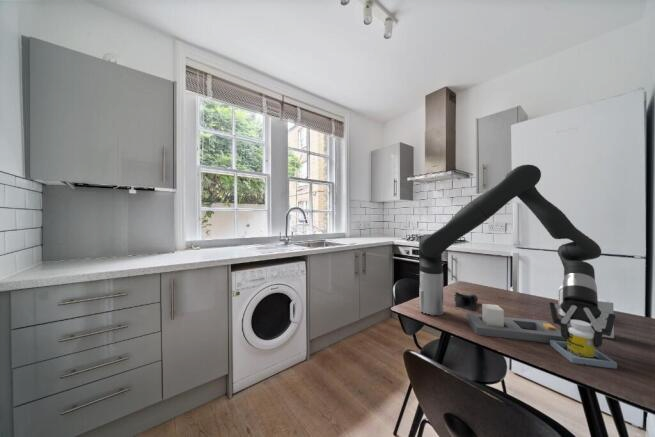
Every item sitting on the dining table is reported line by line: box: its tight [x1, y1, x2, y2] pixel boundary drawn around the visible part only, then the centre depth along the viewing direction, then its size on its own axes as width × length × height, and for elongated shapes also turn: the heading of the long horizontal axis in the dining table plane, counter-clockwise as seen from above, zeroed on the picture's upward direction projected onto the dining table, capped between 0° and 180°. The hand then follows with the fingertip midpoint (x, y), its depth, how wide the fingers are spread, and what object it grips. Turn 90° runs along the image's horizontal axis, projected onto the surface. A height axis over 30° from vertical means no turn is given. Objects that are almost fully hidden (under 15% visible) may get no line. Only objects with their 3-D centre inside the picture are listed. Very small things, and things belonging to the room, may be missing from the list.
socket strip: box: [465, 303, 567, 344], centre depth 83 cm, size 26×12×8 cm, turn 74°
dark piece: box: [454, 292, 479, 312], centre depth 107 cm, size 9×8×12 cm
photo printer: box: [557, 284, 566, 317], centre depth 97 cm, size 10×4×12 cm, turn 123°
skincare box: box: [590, 297, 615, 339], centre depth 80 cm, size 6×4×12 cm
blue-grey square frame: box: [549, 340, 618, 370], centre depth 68 cm, size 10×10×2 cm
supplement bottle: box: [566, 320, 596, 359], centre depth 68 cm, size 5×5×10 cm
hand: (580, 341), depth 67 cm, fingers closed on supplement bottle, 5 cm apart
